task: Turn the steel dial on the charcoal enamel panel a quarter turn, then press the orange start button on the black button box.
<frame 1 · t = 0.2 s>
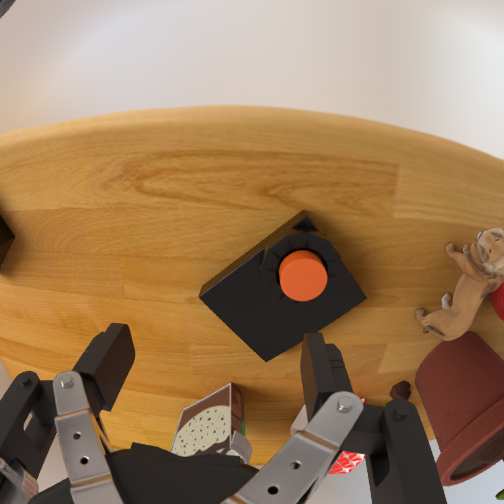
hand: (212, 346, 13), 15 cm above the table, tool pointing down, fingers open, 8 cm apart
red white box: (326, 412, 36), on the table
food container: (222, 407, 36), on the table
potted plant: (442, 379, 34), on the table
black button box: (283, 287, 29), on the table
lion figurine: (444, 269, 28), on the table
tomato: (503, 275, 28), on the table
start button: (302, 275, 23), point 4 cm above the table, slide at 0.1 cm
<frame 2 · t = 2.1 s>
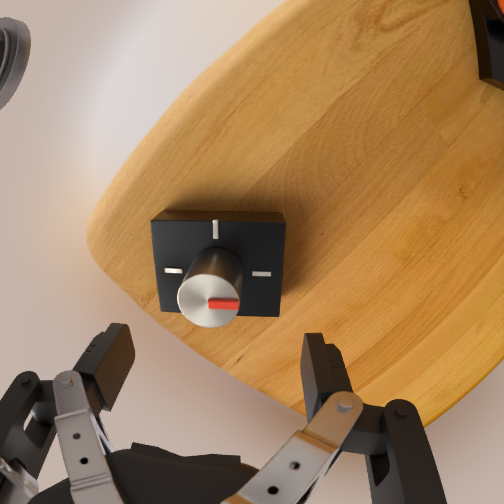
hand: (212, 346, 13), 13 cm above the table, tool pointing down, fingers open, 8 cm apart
dial panel: (221, 256, 26), on the table
dial: (212, 286, 21), point 5 cm above the table, hinge at 0.0°
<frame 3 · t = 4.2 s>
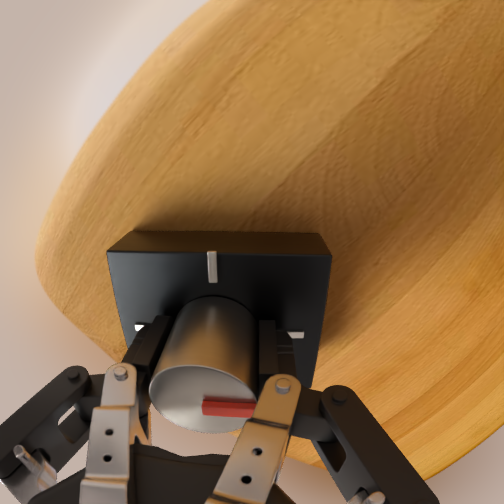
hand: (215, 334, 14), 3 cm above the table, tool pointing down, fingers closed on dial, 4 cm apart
dial panel: (223, 299, 17), on the table
dial: (209, 366, 12), point 5 cm above the table, hinge at -0.1°, touching gripper
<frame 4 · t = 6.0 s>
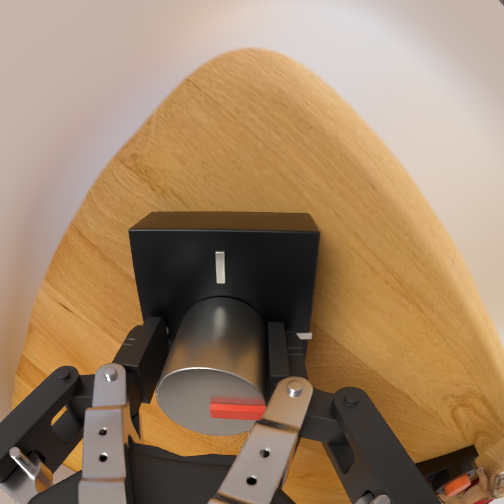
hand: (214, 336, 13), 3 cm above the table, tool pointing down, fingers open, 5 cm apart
black button box: (425, 473, 26), on the table
lion figurine: (467, 474, 30), on the table
dial panel: (230, 300, 16), on the table
dial: (217, 368, 11), point 5 cm above the table, hinge at 90.0°
tomato: (476, 480, 33), on the table
start button: (457, 485, 21), point 4 cm above the table, slide at 0.1 cm
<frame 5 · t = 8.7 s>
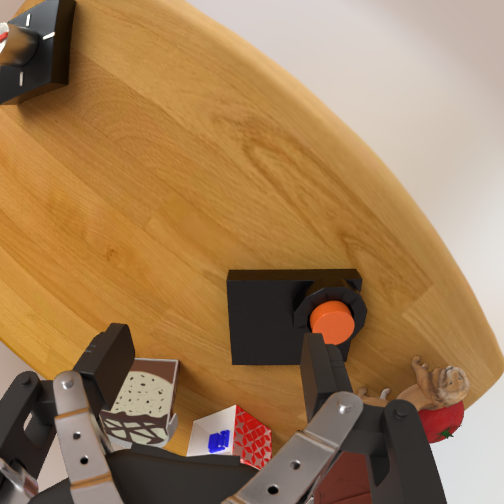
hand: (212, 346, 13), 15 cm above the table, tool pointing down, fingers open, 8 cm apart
red white box: (232, 425, 38), on the table
food container: (149, 374, 34), on the table
potted plant: (333, 447, 40), on the table
black button box: (291, 314, 29), on the table
lion figurine: (400, 370, 33), on the table
dial panel: (42, 52, 19), on the table
dial: (9, 45, 14), point 5 cm above the table, hinge at 90.0°
tomato: (429, 399, 36), on the table
start button: (331, 323, 24), point 4 cm above the table, slide at 0.1 cm
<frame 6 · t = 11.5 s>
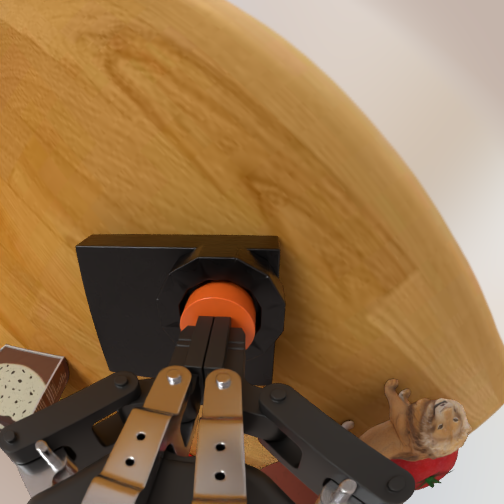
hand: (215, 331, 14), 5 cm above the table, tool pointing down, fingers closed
food container: (44, 371, 24), on the table
potted plant: (284, 482, 30), on the table
black button box: (183, 306, 19), on the table
lion figurine: (368, 398, 23), on the table
tomato: (412, 432, 26), on the table
start button: (219, 319, 15), point 4 cm above the table, slide at -0.1 cm, touching gripper
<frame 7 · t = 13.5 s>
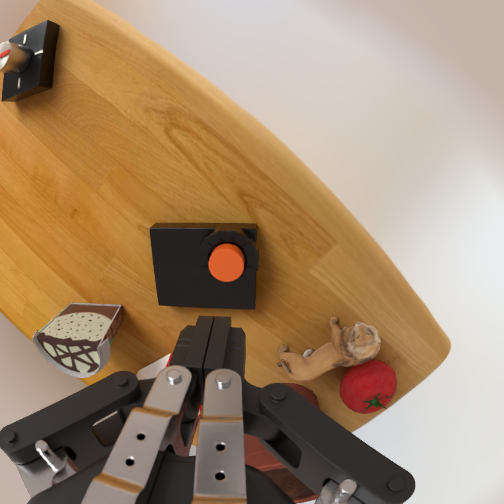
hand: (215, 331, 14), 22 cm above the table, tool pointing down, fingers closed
red white box: (171, 377, 43), on the table
food container: (100, 320, 40), on the table
potted plant: (270, 413, 46), on the table
black button box: (206, 263, 36), on the table
lion figurine: (320, 331, 40), on the table
dial panel: (35, 63, 26), on the table
dial: (10, 58, 21), point 5 cm above the table, hinge at 90.0°
tomato: (362, 370, 42), on the table
start button: (226, 262, 31), point 4 cm above the table, slide at 0.1 cm
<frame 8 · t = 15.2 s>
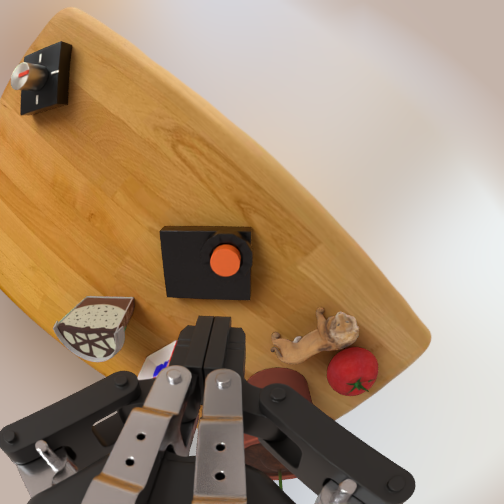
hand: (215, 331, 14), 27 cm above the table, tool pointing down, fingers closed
red white box: (176, 362, 50), on the table
food container: (114, 311, 46), on the table
potted plant: (265, 396, 52), on the table
black button box: (208, 260, 42), on the table
lion figurine: (308, 320, 46), on the table
dial panel: (50, 80, 32), on the table
dial: (28, 77, 27), point 5 cm above the table, hinge at 90.0°
tomato: (347, 356, 48), on the table
start button: (225, 260, 37), point 4 cm above the table, slide at 0.1 cm
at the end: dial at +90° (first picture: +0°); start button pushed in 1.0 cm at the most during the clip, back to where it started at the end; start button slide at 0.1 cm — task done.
